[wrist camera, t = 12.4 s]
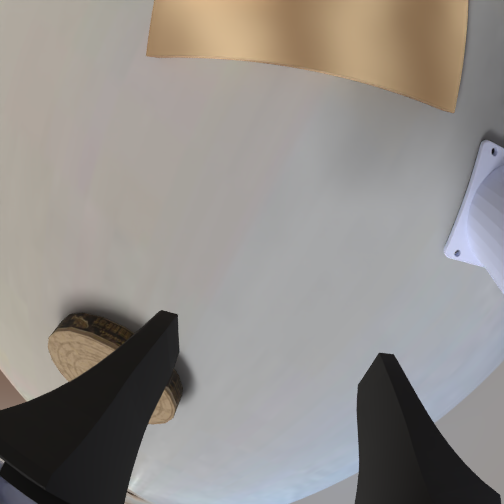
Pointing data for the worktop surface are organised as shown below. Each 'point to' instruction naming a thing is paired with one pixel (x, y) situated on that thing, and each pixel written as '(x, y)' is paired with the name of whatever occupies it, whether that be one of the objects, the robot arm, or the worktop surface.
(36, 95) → the worktop surface
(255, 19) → the oak board
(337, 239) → the worktop surface
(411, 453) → the robot arm
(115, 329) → the wood log slice
